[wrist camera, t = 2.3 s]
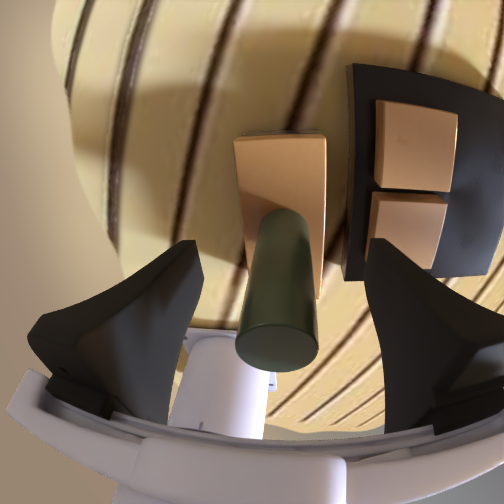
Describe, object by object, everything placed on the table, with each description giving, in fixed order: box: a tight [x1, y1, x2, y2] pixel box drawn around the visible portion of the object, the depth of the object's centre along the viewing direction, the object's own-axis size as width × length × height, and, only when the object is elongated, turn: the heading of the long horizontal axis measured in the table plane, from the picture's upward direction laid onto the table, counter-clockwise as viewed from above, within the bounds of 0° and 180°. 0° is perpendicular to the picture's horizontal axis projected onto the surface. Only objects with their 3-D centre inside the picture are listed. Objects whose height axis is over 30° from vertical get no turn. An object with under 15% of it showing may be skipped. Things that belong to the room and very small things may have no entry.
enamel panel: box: [341, 63, 504, 281], centre depth 12 cm, size 12×12×2 cm
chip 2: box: [364, 192, 447, 269], centre depth 13 cm, size 4×4×1 cm
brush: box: [233, 130, 326, 372], centre depth 11 cm, size 9×4×10 cm, turn 5°
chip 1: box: [374, 100, 458, 192], centre depth 10 cm, size 4×4×1 cm
